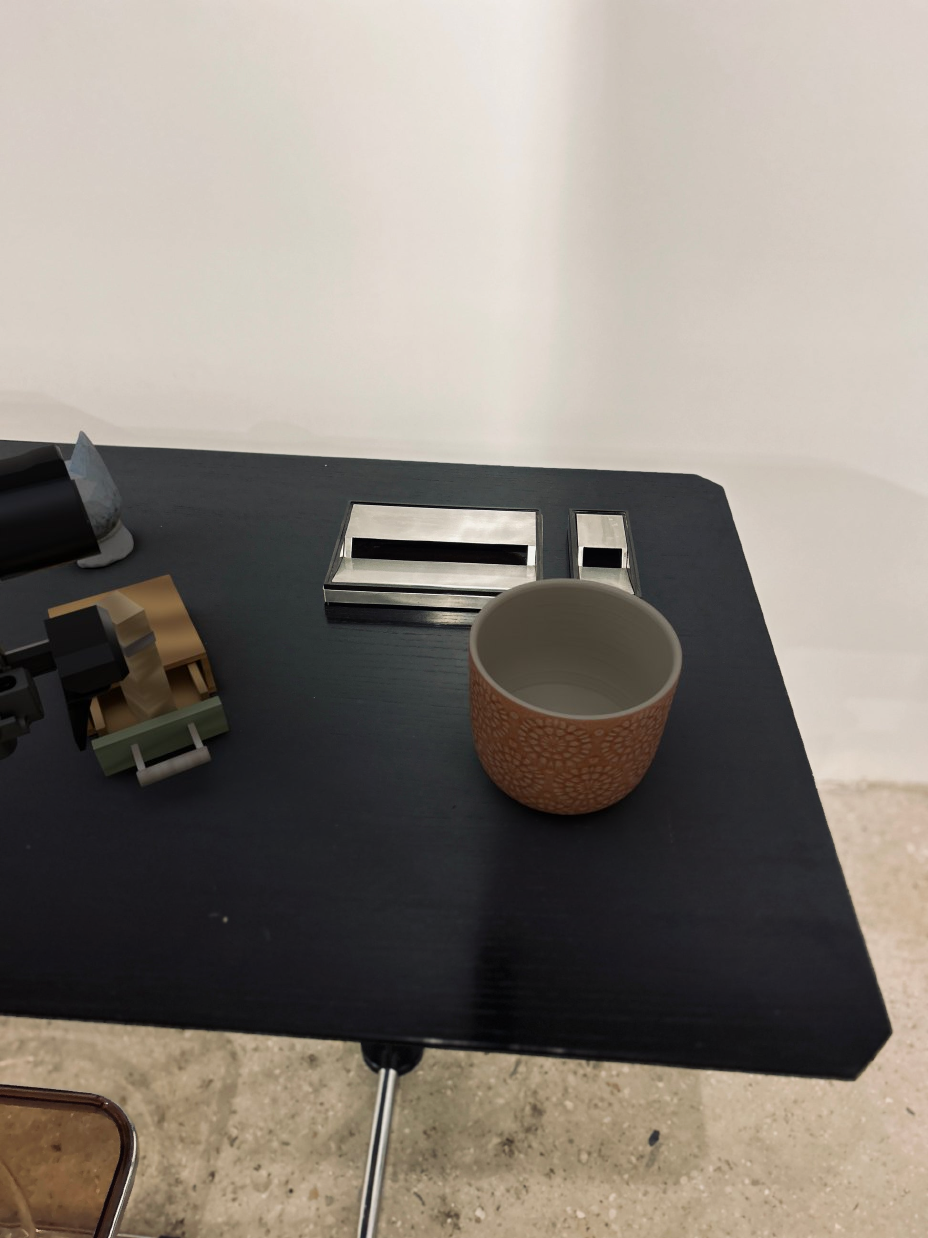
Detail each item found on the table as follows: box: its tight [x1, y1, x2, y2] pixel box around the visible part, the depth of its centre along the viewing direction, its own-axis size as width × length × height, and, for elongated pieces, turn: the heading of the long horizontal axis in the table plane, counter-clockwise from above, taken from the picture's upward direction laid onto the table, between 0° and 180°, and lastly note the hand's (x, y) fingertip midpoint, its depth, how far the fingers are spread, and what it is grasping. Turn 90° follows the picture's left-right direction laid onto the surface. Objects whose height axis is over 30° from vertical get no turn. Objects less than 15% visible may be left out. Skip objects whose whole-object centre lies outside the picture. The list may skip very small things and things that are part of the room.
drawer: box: [90, 661, 230, 788], centre depth 73 cm, size 18×11×4 cm, turn 30°
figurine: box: [64, 430, 135, 569], centre depth 92 cm, size 10×9×15 cm
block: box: [90, 591, 177, 723], centre depth 69 cm, size 3×4×14 cm, turn 52°
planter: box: [467, 577, 683, 816], centre depth 67 cm, size 17×17×15 cm
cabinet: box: [47, 574, 218, 737], centre depth 80 cm, size 14×12×5 cm
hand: (13, 771), depth 55 cm, fingers open, 9 cm apart
